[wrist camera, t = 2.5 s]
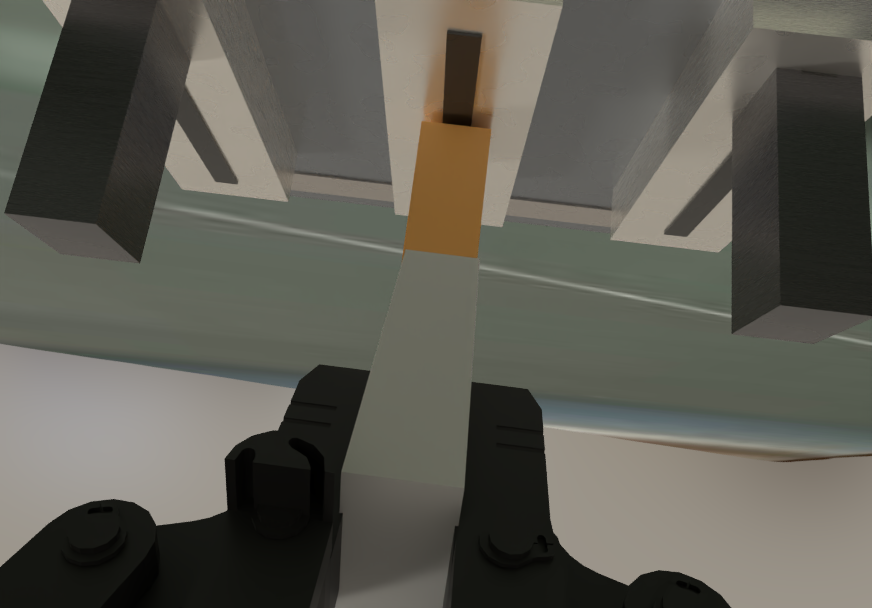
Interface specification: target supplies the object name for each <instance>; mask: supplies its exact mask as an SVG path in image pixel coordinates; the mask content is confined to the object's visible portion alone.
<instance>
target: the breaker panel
mask: <svg viewBox="0 0 872 608" xmlns="http://www.w3.org/2000/svg"><path fill="white" fill-rule="evenodd" d="M43 2H44V3H45V4H46V6H47V7H48V8H49V10H50V11H51V12H52V14H53V15H54V16H55V18H56V19H57V20H58V22H59V23H60V25H61V26H62V27H63V28H62V31H61V35H60V38H59V41H58V44H57V47H56V50H55V54H54V57H53V60H52V63H51V66H50V70H49V73H48V76H47V79H46V82H45V85H44V89H43V92H42V95H41V98H40V101H39V104H38V108H37V111H36V114H35V117H34V120H33V123H32V127H31V130H30V133H29V136H28V139H27V143H26V146H25V149H24V152H23V155H22V158H21V162H20V165H19V168H18V171H17V174H16V177H15V181H14V184H13V187H12V190H11V193H10V196H9V200H8V203H7V206H6V209H5V212H4V213H5V214H6V215H7V216H9V217H10V218H11V219H13V220H14V221H16V222H17V223H18V224H20V225H21V226H23V227H24V228H25V229H27V230H28V231H30V232H31V233H32V234H34V235H35V236H36V237H38V238H39V239H41V240H42V241H43V242H45V243H46V244H48V245H49V246H50V247H52V248H53V249H54V250H56V251H57V252H59V253H60V254H66V255H74V256H82V257H91V258H99V259H108V260H116V261H124V262H133V263H140V261H141V257H142V253H143V249H144V245H145V241H146V237H147V233H148V229H149V225H150V221H151V217H152V213H153V209H154V205H155V201H156V197H157V193H158V189H159V186H160V182H161V178H162V174H163V170H164V166H165V167H166V168H167V169H168V171H169V172H170V173H171V175H172V176H173V177H174V179H175V180H176V181H177V183H178V184H179V185H180V187H181V188H182V189H183V190H192V191H200V192H209V193H218V194H226V195H235V196H243V197H252V198H260V199H269V200H277V201H286V202H289V197H290V196H297V197H305V198H314V199H322V200H331V201H339V202H348V203H357V204H365V205H374V206H382V207H391V208H395V214H396V215H405V216H408V214H409V207H410V200H411V193H412V186H413V179H414V171H415V164H416V157H417V150H418V143H419V136H420V129H421V122H422V121H427V122H435V123H444V124H453V125H461V126H470V127H479V128H487V129H491V137H490V146H489V156H488V165H487V174H486V183H485V192H484V201H483V210H482V219H481V224H482V225H490V226H499V227H503V223H504V221H510V222H519V223H527V224H536V225H544V226H553V227H561V228H570V229H578V230H587V231H595V232H604V233H611V234H610V240H618V241H626V242H635V243H643V244H652V245H660V246H669V247H677V248H686V249H694V250H703V251H712V252H720V251H721V250H722V249H723V248H724V247H725V246H726V245H727V244H728V243H730V242H731V241H732V334H736V335H744V336H752V337H761V338H769V339H778V340H786V341H794V342H803V343H811V344H814V343H817V342H819V341H821V340H824V339H826V338H828V337H830V336H833V335H835V334H837V333H839V332H842V331H844V330H846V329H849V328H851V327H853V326H855V325H858V324H860V323H862V322H864V321H867V320H869V319H871V318H872V244H871V226H870V208H869V190H868V173H867V155H866V137H865V121H866V120H867V119H869V118H870V117H871V116H872V0H43Z"/></svg>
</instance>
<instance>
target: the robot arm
mask: <svg viewBox="0 0 872 608" xmlns="http://www.w3.org/2000/svg"><path fill="white" fill-rule="evenodd" d="M479 262H480V259H479V258H471V257H463V256H455V255H447V254H439V253H431V252H423V251H415V250H407V249H406V250H405V253H404V257H403V260H402V264H401V267H400V271H399V274H398V278H397V281H396V284H395V288H394V291H393V295H392V298H391V302H390V305H389V309H388V312H387V316H386V319H385V322H384V326H383V329H382V333H381V336H380V340H379V343H378V347H377V350H376V354H375V357H374V360H373V364H372V367H371V371H366V370H359V369H351V368H343V367H335V366H328V365H320V364H319V365H318V366H317V367H316V368H315V369H313V370H312V371H311V372H310V373H308V374H307V375H306V376H305V377H303V378H302V379H301V380H300V381H299V383H298V386H297V388H296V390H295V393H294V395H293V397H292V399H291V404H290V405H289V407H288V409H287V411H286V413H285V416H284V420H283V422H281V425H280V427H279V430H278V431H269V432H265V433H261V434H257V435H254V436H251V437H249V438H248V439H246V440H244V441H242V442H241V443H239V444H237V445H236V446H235V447H234V448H233V449H232V450H231V452H230V453H229V454H228V455H227V456H226V458H225V473H226V490H227V506H228V510H227V511H226V512H223V513H221V514H218V515H215V516H213V517H210V518H206V519H201V520H197V521H192V522H183V523H175V524H167V525H158V526H156V524H155V522H154V520H153V518H152V517H151V515H150V513H149V511H147V510H145V509H144V508H142V507H140V506H139V505H137V504H135V503H133V502H127V501H122V500H116V499H111V500H102V501H93V502H89V503H86V504H84V505H81V506H78V507H75V508H73V509H70V510H68V511H66V512H65V513H63V514H62V515H61V516H59V517H57V518H56V519H55V520H53V521H52V522H50V523H49V524H48V525H46V526H45V527H44V528H43V529H42V530H41V531H40V532H39V533H38V534H36V535H35V536H34V537H33V538H32V539H31V540H30V541H29V542H28V543H27V544H25V545H24V546H23V547H22V548H21V549H20V550H19V551H18V552H17V553H15V554H14V555H13V556H12V557H11V558H10V559H9V560H8V561H6V562H5V563H4V564H3V565H2V566H1V567H0V608H731V607H730V606H729V605H728V603H727V602H726V601H725V600H724V599H723V597H722V596H721V595H720V594H718V593H717V592H716V591H714V590H713V589H711V588H710V587H708V586H707V585H706V584H705V583H703V582H702V581H700V580H697V579H695V578H692V577H690V576H687V575H685V574H682V573H679V572H670V571H660V570H658V571H654V572H650V573H647V574H643V575H640V576H639V577H638V578H637V579H636V580H635V581H634V582H633V583H631V584H630V585H629V586H628V585H625V584H623V583H620V582H617V581H616V580H613V579H610V578H608V577H606V576H603V575H601V574H598V573H596V572H595V571H593V570H591V569H589V568H587V567H585V566H583V565H582V564H580V563H579V562H578V561H577V560H575V559H574V558H573V557H571V556H570V555H569V554H568V553H567V552H566V550H565V549H564V548H563V547H562V546H561V545H560V543H559V540H558V538H557V536H556V535H555V534H554V533H553V529H552V525H551V521H550V510H549V498H548V484H547V472H546V459H545V454H544V450H545V447H544V436H543V420H542V409H541V408H540V406H539V405H538V403H537V402H536V401H535V399H534V398H533V396H532V395H531V393H530V392H529V390H528V389H522V388H515V387H507V386H499V385H491V384H484V383H476V382H471V381H472V366H473V351H474V336H475V321H476V306H477V291H478V276H479Z"/></svg>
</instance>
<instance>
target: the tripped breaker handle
mask: <svg viewBox="0 0 872 608" xmlns="http://www.w3.org/2000/svg"><path fill="white" fill-rule="evenodd" d="M490 137H491V129H487V128H479V127H470V126H461V125H453V124H444V123H435V122H427V121H422V122H421V129H420V136H419V143H418V150H417V157H416V164H415V171H414V179H413V186H412V193H411V200H410V207H409V214H408V221H407V228H406V235H405V242H404V249H403V256H402V260H403V257H404V253H405V250H406V249H407V250H415V251H423V252H431V253H439V254H447V255H455V256H463V257H471V258H477V256H478V246H479V237H480V228H481V219H482V210H483V201H484V192H485V183H486V174H487V165H488V156H489V146H490ZM401 264H402V263H401Z"/></svg>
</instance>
